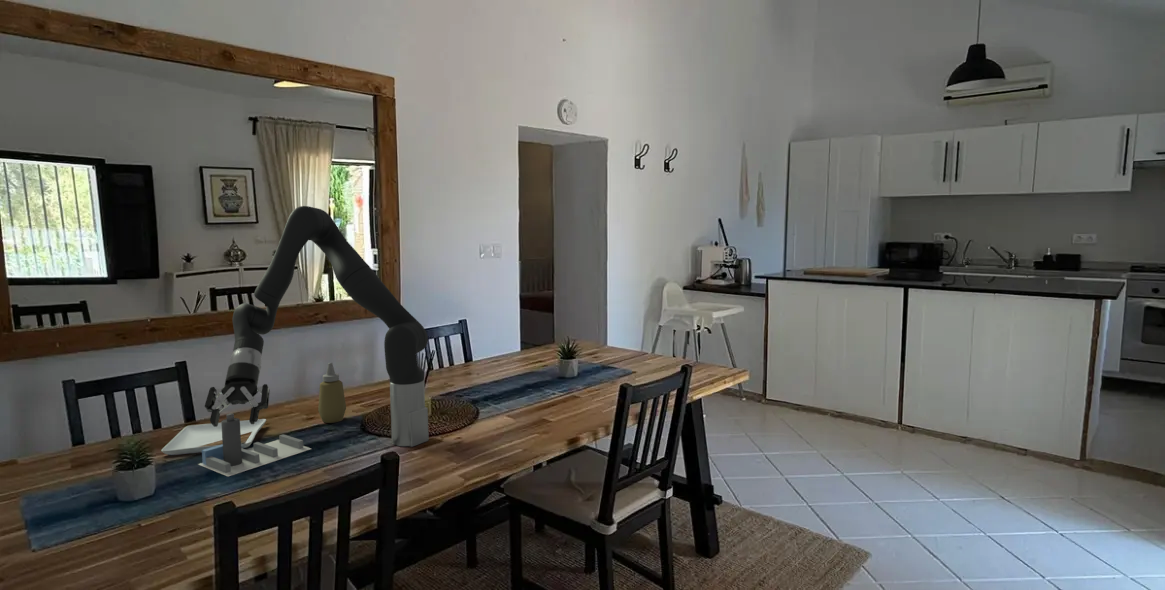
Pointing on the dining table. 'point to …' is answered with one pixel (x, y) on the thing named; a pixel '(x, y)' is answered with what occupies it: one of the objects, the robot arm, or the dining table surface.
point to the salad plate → (206, 437)
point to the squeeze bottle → (331, 397)
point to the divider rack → (252, 455)
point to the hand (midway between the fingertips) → (233, 424)
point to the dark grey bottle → (231, 440)
